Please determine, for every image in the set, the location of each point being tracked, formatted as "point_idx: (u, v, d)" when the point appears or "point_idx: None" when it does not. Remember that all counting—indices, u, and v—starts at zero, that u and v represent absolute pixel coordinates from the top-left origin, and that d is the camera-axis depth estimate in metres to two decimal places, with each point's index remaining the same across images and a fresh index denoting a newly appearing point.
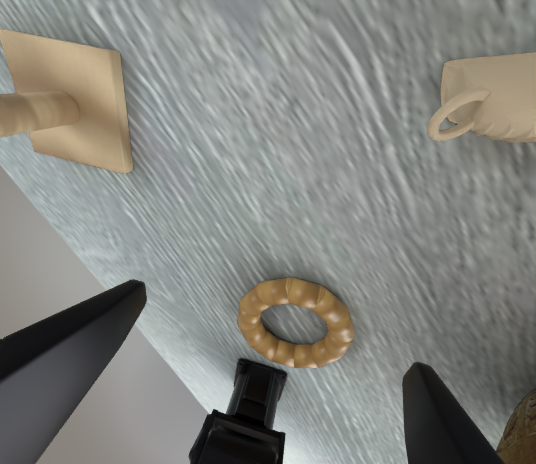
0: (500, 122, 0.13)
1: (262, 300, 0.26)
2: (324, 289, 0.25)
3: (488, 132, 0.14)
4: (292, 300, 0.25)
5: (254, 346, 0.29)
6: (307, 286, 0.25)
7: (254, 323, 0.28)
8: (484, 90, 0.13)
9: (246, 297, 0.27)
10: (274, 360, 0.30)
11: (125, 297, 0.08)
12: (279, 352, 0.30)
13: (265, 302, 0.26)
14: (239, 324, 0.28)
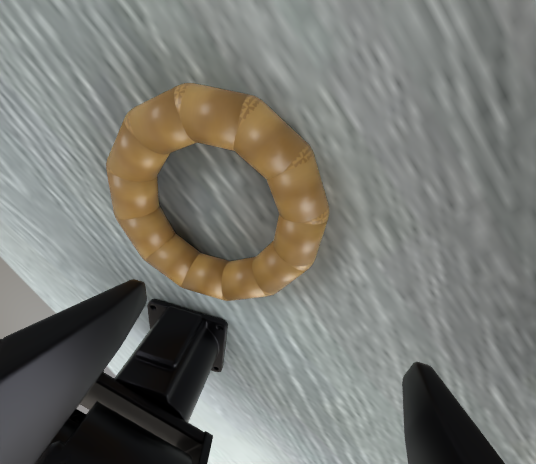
0: None
1: (132, 133, 0.12)
2: (260, 100, 0.11)
3: None
4: (189, 120, 0.11)
5: (148, 256, 0.16)
6: (221, 89, 0.11)
7: (138, 204, 0.14)
8: None
9: None
10: (187, 285, 0.16)
11: (125, 297, 0.08)
12: (197, 270, 0.16)
13: (139, 137, 0.12)
14: (113, 210, 0.15)
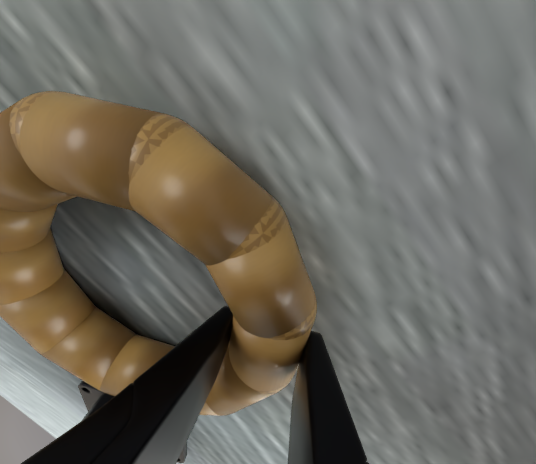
0: None
1: None
2: (183, 124, 0.06)
3: None
4: (40, 164, 0.06)
5: (43, 353, 0.10)
6: (106, 105, 0.06)
7: (11, 283, 0.09)
8: None
9: None
10: (108, 392, 0.11)
11: (226, 328, 0.08)
12: (121, 370, 0.11)
13: None
14: None
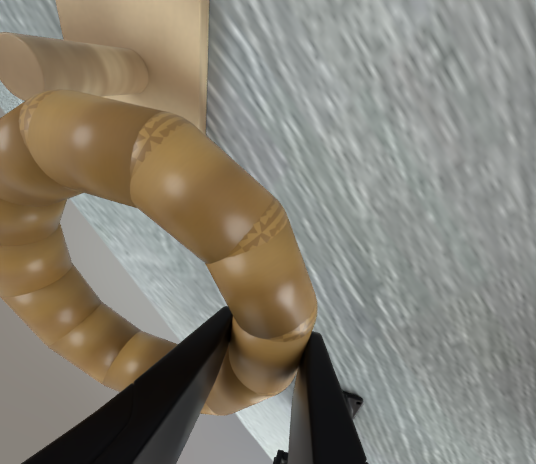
0: None
1: None
2: (185, 122, 0.06)
3: None
4: (47, 160, 0.06)
5: (50, 345, 0.11)
6: (111, 102, 0.06)
7: (21, 276, 0.09)
8: None
9: None
10: (110, 386, 0.11)
11: (227, 328, 0.08)
12: (124, 365, 0.11)
13: None
14: None
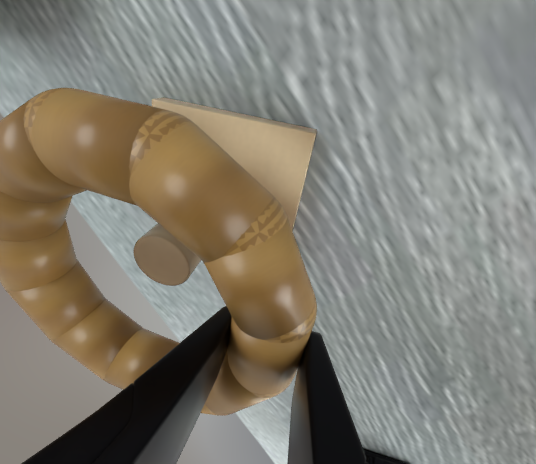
0: None
1: None
2: (186, 121, 0.06)
3: None
4: (50, 156, 0.06)
5: (54, 340, 0.11)
6: (113, 101, 0.06)
7: (26, 271, 0.09)
8: None
9: None
10: (111, 382, 0.11)
11: (227, 328, 0.08)
12: (125, 362, 0.11)
13: None
14: None
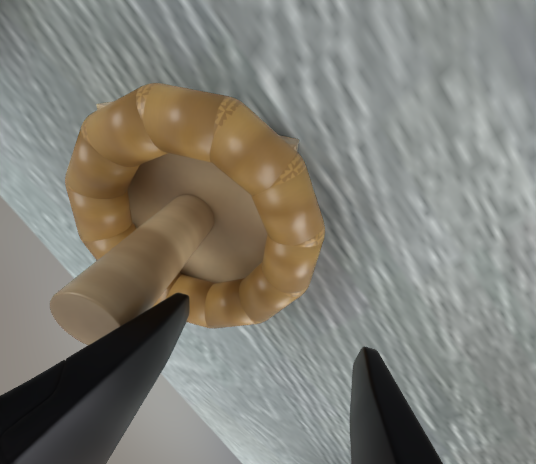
0: None
1: (90, 143, 0.10)
2: (241, 103, 0.10)
3: None
4: (154, 128, 0.09)
5: None
6: (194, 91, 0.09)
7: (105, 224, 0.12)
8: None
9: None
10: None
11: (174, 312, 0.08)
12: None
13: (99, 149, 0.10)
14: None
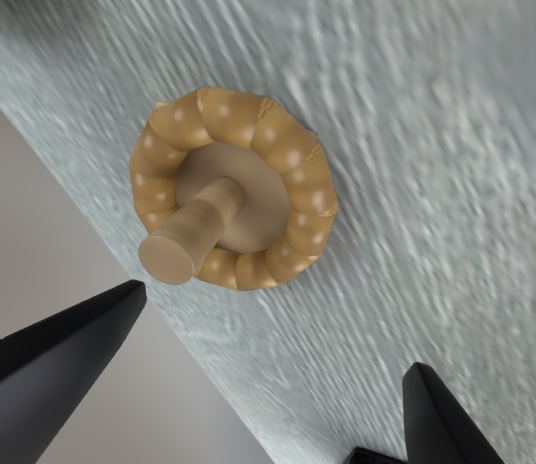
0: None
1: (156, 132, 0.13)
2: (276, 102, 0.12)
3: None
4: (210, 120, 0.12)
5: None
6: (240, 92, 0.12)
7: (158, 199, 0.15)
8: None
9: (137, 142, 0.14)
10: (203, 276, 0.17)
11: (125, 297, 0.08)
12: (212, 262, 0.17)
13: (163, 136, 0.13)
14: (134, 205, 0.16)
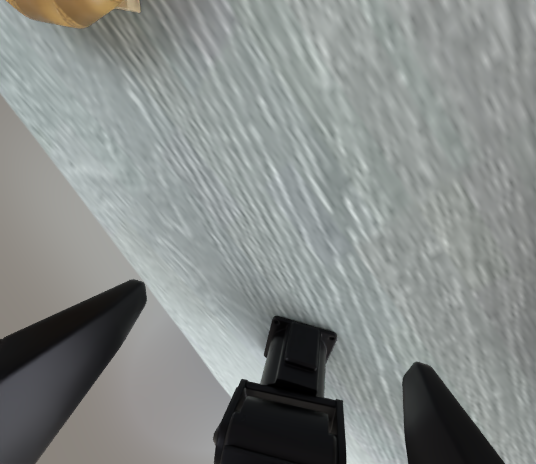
0: None
1: None
2: None
3: None
4: None
5: None
6: None
7: None
8: None
9: None
10: None
11: (125, 297, 0.08)
12: None
13: None
14: None
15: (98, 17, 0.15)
